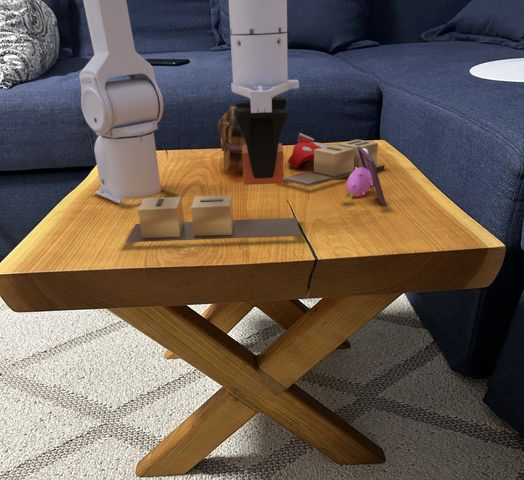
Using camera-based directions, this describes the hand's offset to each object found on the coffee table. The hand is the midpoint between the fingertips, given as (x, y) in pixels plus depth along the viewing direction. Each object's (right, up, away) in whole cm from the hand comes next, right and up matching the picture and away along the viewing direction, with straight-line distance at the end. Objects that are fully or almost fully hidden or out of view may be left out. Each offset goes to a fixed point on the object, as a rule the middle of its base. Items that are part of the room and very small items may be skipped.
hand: (263, 171), depth 63 cm
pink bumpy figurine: (+14, 0, +13) cm, 19 cm away
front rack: (-6, -7, +3) cm, 9 cm away
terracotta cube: (0, -1, 0) cm, 1 cm away
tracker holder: (+9, +12, +33) cm, 36 cm away
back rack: (+11, +7, +24) cm, 28 cm away
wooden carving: (-5, +10, +30) cm, 32 cm away
